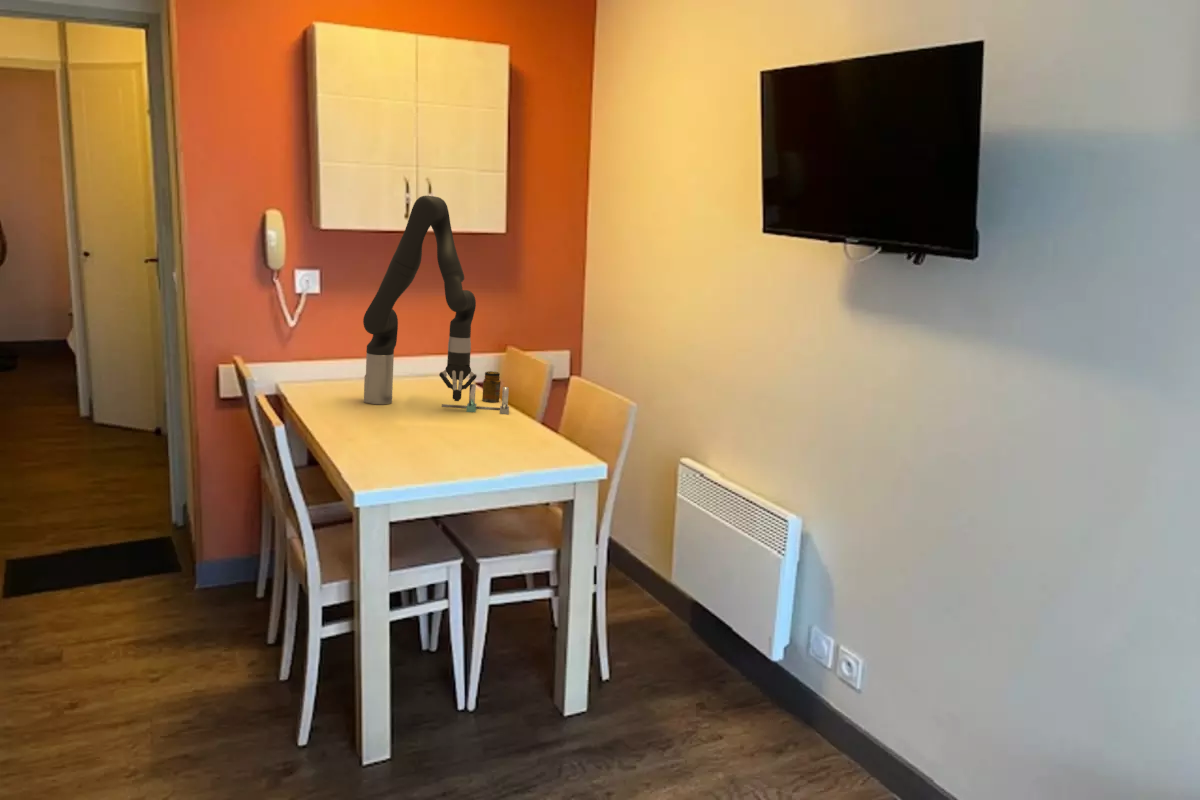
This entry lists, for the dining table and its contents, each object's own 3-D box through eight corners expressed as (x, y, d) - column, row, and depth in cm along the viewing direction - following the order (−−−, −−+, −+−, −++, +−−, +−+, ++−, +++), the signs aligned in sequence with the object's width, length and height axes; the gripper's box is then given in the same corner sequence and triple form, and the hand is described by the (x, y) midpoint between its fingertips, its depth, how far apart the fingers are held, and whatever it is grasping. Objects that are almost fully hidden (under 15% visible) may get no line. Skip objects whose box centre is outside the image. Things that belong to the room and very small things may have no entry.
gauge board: (436, 418, 309) (436, 411, 309) (440, 409, 323) (440, 403, 323) (509, 422, 311) (509, 416, 311) (510, 413, 325) (510, 407, 325)
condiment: (493, 402, 342) (495, 370, 339) (506, 407, 335) (508, 374, 333) (476, 404, 337) (478, 371, 335) (489, 408, 331) (491, 375, 328)
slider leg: (466, 411, 316) (467, 385, 314) (467, 408, 321) (468, 382, 319) (475, 412, 316) (476, 386, 314) (476, 409, 321) (477, 383, 319)
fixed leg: (499, 414, 317) (501, 388, 315) (500, 411, 322) (501, 385, 320) (508, 415, 317) (510, 389, 315) (508, 412, 322) (510, 386, 320)
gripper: (438, 350, 310) (435, 401, 313) (478, 353, 311) (475, 404, 314) (440, 347, 317) (438, 397, 320) (479, 349, 318) (477, 399, 321)
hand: (456, 400), depth 317 cm, fingers closed
